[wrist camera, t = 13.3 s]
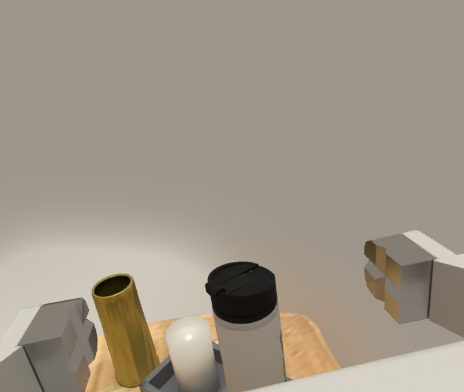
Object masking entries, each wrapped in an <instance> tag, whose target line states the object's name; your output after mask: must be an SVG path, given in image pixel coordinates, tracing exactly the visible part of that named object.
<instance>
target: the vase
mask: <svg viewBox="0 0 464 392" xmlns="http://www.w3.org/2000/svg"><path fill="white" fill-rule="evenodd" d="M92 296H93V299H94V302H95V306H96V309H97V312H98V315H99V318H100V321H101V324H102V328H103V331H104V335H105V339H106V342H107V345H108V349H109V352H110V355H111V358H112V361H113V365H114V369H115V375H116V380H117V381H118V383H119V384H121V385H123V386H126V387H133V386H138V385H139V384H140V383H141V382H142V381H143V380H144V379H145V378H146V377H147V376H148V375H149V374H150V373H151V372H153V371H154V370H155V369H156V368H157V367H158V366H159V358H158V356H157V355H156V351H155V347H154V344H153V341H152V337H151V334H150V331H149V328H148V325H147V322H146V319H145V316H144V313H143V310H142V307H141V303H140V300H139V297H138V294H137V290H136V286H135V283H134V280H133V278H132V276H130V275H129V274H115V275H111V276H108V277H106V278H103V279H102V280H100V281H99V282H98V283H96V284H95V286H94V287H93V289H92Z"/></svg>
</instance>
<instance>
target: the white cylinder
mask: <svg viewBox="0 0 464 392" xmlns="http://www.w3.org/2000/svg"><path fill="white" fill-rule="evenodd" d="M165 338H166V342H167V346H168V350H169V354H170V358H171V362H172V366H173V370H174V374H175V377H176V381H177V385H178V389H179V392H218V390H219V387H220V381H219V376H218V371H217V366H216V361H215V356H214V351H213V346H212V341H211V336H210V330H209V325H208V323H207V321H206V320H205V319H203V318H201V317H198V316H187V317H183V318H181V319H178V320H176V321H175V322H174V323H172V324H171V325H170V326H169V327H168V329H167V331H166V334H165Z"/></svg>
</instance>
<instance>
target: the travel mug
mask: <svg viewBox="0 0 464 392" xmlns="http://www.w3.org/2000/svg"><path fill="white" fill-rule="evenodd" d="M205 288H206V292H207V293H208V294H209V295H210V296H211V301H212V310H213V315H214V321H215V326H216V331H217V336H218V342H219V347H220V352H221V358H222V363H223V368H224V373H225V379H226V384H227V389H228V392H244V391H248V390H253V389H257V388H261V387H265V386H270V385H274V384H278V383H283V382H287V380H286V370H285V361H284V351H283V342H282V333H281V323H280V314H279V306H278V296H277V292H276V283H275V275H274V274H273V273H272V272H271V271H269V270H268V269H266V268H264V267H262V266H259V265H258V264H256V263H252V262H233V263H228V264H225V265H221V266H219V267H217V268H216V269H214V270H213V271H212V272H211V273H210V274H209V276H208V283H206V284H205Z"/></svg>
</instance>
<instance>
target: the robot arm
mask: <svg viewBox="0 0 464 392" xmlns="http://www.w3.org/2000/svg"><path fill="white" fill-rule="evenodd" d="M364 255H365V256H366V257H367V258H368V259H369V261H368V263H367V264H366V266H365V269H364V270H365V280H366V283H367V287H368V288H369V290H370V292H371V293H372V294H373V296H374V297H375V298H376V299H378V300H381V301H383V302H385V309H386V311H387V312H388V313H389V314H390V315H391V316H392V317H393V318H394V320H395V321H396V322H397V323H398V324H403V323H408V322H413V321H419V320H423V319H429V320H430V321H432V322H434V323H436V324H438V325H440V326H442V327H444V328H446V329H448V330H450V331H452V332H454V333H456V334H458V335H460V336H462V337H464V254H460V255H456V254H454V253H453V252H451V251H449V250H448V249H446V248H445V247H443V246H442V245H440V244H439V243H437V242H435V241H434V240H432V239H431V238H429V237H428V236H426V235H424V234H423V233H421V232H419V231H414V230H413V231H409V232H406V233H401V234H397V235H393V236H388V237H384V238H379V239H375V240H370V241H367V242H366V243H365V247H364ZM88 312H89V309H88V306H87V303H86V301H85V300H84V299H83V298H77V299H71V300H65V301H60V302H54V303H48V304H44V305H43V304H42V305H37V306H32V307H28V308H25V309H22V310H21V311H20V313H19V314H18V316H17V317H16V319H15V320H14V321H13V323H12V324H11V326H10V327H9V329H8V330H7V332H6V333H5V334H4V336H3V338H2V339H1V340H0V392H85V389H86V386H87V383H88V379H89V376H90V370H89V367H88V365H89V364H90V363H91V362H92V361H93V360H94V359H95V356H96V352H97V340H98V339H97V333H96V329H95V326H94V323H92V322H91V321H89V320H88V319H86V317H87V314H88ZM244 392H464V340H463V341H459V342H455V343H450V344H447V345H442V346H438V347H434V348H429V349H425V350H420V351H416V352H412V353H407V354H403V355H399V356H395V357H390V358H386V359H382V360H377V361H373V362H369V363H365V364H360V365H356V366H351V367H347V368H343V369H338V370H334V371H330V372H326V373H321V374H317V375H313V376H308V377H304V378H300V379H296V380H291V381H287V382H283V383H278V384H274V385H270V386H265V387H261V388H257V389H253V390H248V391H244Z"/></svg>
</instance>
